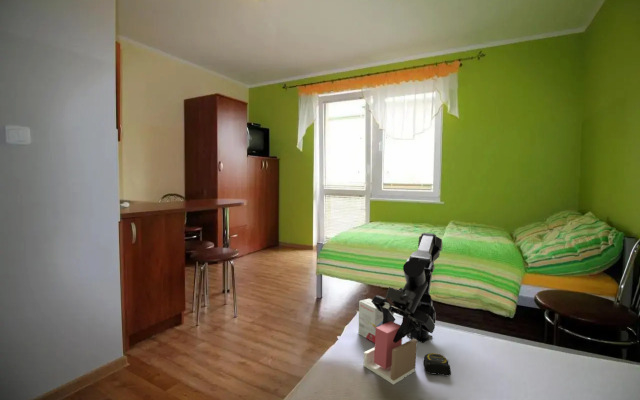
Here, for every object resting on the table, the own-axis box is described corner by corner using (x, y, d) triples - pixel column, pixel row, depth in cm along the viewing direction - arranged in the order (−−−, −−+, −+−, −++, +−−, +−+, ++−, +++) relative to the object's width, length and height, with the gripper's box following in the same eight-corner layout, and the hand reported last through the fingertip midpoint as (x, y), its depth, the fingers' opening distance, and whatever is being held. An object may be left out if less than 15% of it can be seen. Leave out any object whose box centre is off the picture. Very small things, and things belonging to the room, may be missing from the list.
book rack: (385, 354, 96) (386, 325, 95) (415, 370, 88) (417, 339, 87) (363, 365, 89) (365, 335, 89) (393, 384, 81) (395, 351, 81)
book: (389, 354, 92) (391, 321, 91) (400, 360, 88) (402, 326, 88) (373, 362, 87) (375, 327, 86) (385, 369, 84) (387, 333, 83)
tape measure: (424, 375, 86) (425, 362, 86) (422, 362, 92) (422, 350, 92) (450, 380, 84) (451, 367, 84) (446, 366, 91) (447, 354, 91)
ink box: (385, 340, 104) (387, 306, 104) (374, 344, 101) (376, 309, 101) (367, 330, 112) (369, 297, 111) (357, 333, 109) (358, 300, 108)
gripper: (376, 269, 97) (350, 312, 90) (432, 286, 83) (405, 338, 76) (391, 289, 102) (367, 331, 96) (445, 308, 88) (421, 359, 82)
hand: (387, 338), depth 87 cm, fingers closed on book, 4 cm apart
